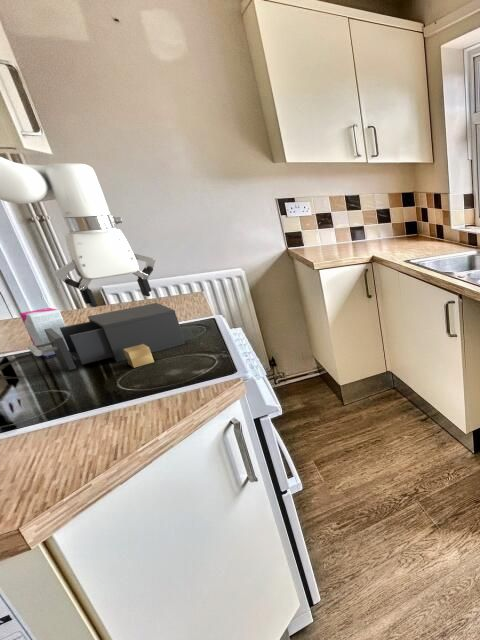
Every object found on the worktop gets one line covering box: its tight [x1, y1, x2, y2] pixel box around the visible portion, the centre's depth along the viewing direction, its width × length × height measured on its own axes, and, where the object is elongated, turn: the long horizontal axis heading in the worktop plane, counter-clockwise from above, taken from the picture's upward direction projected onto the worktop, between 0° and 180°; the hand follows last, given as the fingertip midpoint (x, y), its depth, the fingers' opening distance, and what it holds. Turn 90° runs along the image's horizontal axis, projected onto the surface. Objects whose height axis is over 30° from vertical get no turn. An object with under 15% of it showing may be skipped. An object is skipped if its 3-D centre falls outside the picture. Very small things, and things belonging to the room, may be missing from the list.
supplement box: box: [19, 307, 70, 359], centre depth 109 cm, size 6×6×12 cm
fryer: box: [87, 302, 186, 363], centre depth 111 cm, size 15×14×10 cm
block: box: [123, 344, 155, 369], centre depth 102 cm, size 4×4×4 cm
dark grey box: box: [27, 321, 114, 371], centre depth 103 cm, size 17×12×8 cm
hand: (121, 300), depth 98 cm, fingers open, 9 cm apart
